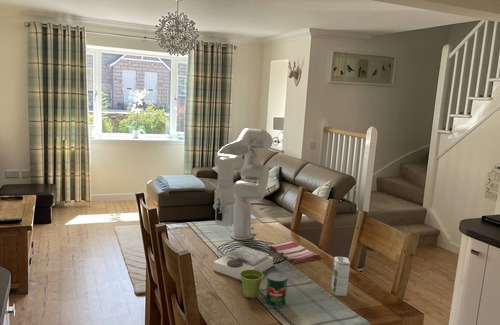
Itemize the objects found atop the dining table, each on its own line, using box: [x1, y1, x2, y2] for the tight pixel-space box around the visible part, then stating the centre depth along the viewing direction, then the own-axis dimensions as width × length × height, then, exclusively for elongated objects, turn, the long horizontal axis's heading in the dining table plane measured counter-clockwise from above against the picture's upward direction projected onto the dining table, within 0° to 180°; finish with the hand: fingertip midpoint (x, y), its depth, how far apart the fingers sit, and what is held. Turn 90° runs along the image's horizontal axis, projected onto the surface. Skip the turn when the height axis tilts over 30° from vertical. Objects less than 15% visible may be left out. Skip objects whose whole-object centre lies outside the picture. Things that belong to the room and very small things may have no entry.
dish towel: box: [266, 240, 321, 265], centre depth 211 cm, size 17×23×3 cm
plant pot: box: [240, 270, 264, 299], centre depth 165 cm, size 9×9×9 cm
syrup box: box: [330, 256, 351, 297], centre depth 170 cm, size 6×6×14 cm
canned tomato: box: [264, 271, 288, 308], centre depth 159 cm, size 8×8×11 cm
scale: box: [212, 254, 274, 281], centre depth 190 cm, size 22×18×5 cm
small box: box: [214, 203, 234, 227], centre depth 202 cm, size 8×6×10 cm
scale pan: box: [226, 246, 271, 265], centre depth 192 cm, size 13×15×1 cm
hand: (224, 218), depth 202 cm, fingers closed on small box, 7 cm apart
